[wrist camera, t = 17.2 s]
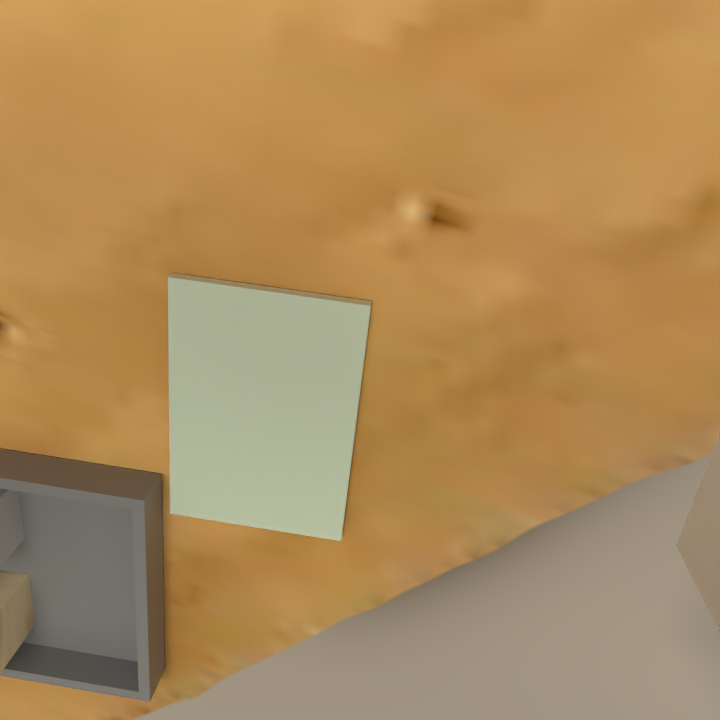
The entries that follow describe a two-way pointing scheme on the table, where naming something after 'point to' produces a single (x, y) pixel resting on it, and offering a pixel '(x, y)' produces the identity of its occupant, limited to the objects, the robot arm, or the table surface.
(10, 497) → the grey box
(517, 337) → the table surface
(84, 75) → the table surface
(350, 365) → the mat
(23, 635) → the maple box
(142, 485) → the parts bin
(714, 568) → the robot arm
